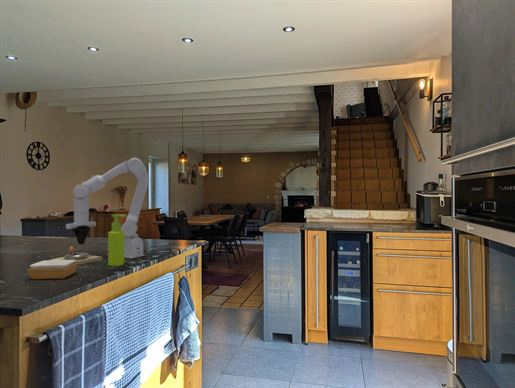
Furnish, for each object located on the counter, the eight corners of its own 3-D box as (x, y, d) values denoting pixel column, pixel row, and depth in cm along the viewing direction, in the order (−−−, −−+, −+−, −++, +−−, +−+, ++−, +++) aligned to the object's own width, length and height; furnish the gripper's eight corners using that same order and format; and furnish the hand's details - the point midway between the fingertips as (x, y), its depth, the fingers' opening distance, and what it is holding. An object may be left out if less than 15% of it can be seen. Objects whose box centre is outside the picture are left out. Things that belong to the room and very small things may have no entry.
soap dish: (78, 273, 124) (78, 259, 124) (66, 280, 115) (66, 264, 115) (42, 273, 123) (42, 259, 123) (26, 280, 113) (26, 265, 113)
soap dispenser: (120, 266, 135) (120, 215, 135) (105, 265, 136) (105, 214, 136) (129, 263, 140) (129, 214, 140) (114, 262, 142) (114, 213, 142)
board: (102, 259, 148) (102, 256, 148) (71, 265, 136) (71, 262, 136) (81, 256, 155) (81, 253, 155) (50, 262, 142) (50, 258, 142)
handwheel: (93, 256, 147) (93, 246, 147) (73, 260, 139) (73, 249, 139) (79, 254, 151) (79, 245, 151) (59, 258, 144) (59, 248, 144)
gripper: (87, 211, 159) (86, 241, 159) (60, 213, 145) (60, 245, 145) (99, 212, 157) (99, 242, 157) (73, 213, 143) (73, 246, 143)
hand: (81, 244), depth 151 cm, fingers closed
